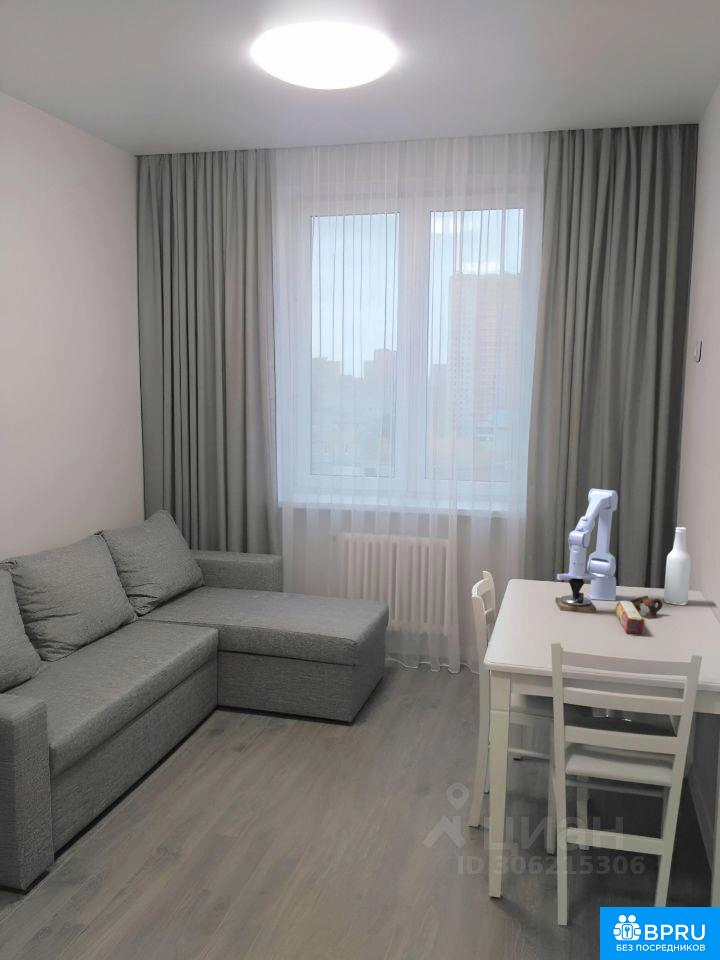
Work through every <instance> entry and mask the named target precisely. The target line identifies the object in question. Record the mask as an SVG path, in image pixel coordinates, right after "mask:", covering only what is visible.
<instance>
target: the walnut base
mask: <svg viewBox="0 0 720 960" xmlns="http://www.w3.org/2000/svg"><path fill="white" fill-rule="evenodd" d="M555 603H556V605H557V607H558V608H559V610H560V611H565V612H566V611H568V612H580V613H581V612H583V613H584V612H585V613H597V608H596V606H595V604H594V603H593V601H591V604H590V605H588V606H572V605H567V604H564V603H562V602H561V597H555Z"/></svg>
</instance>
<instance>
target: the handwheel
mask: <svg viewBox="0 0 720 960" xmlns="http://www.w3.org/2000/svg"><path fill="white" fill-rule="evenodd" d="M584 594H585V593H584V592H580V591H579V594H578V598H577V599H574V598H573V593H572V594H571V595H562V596H561V597H560V598H561V602H562V603H564V604H567V605H572V606H588V605H590V604H591V602H592V599H591V598H588V597H585V595H584Z"/></svg>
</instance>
